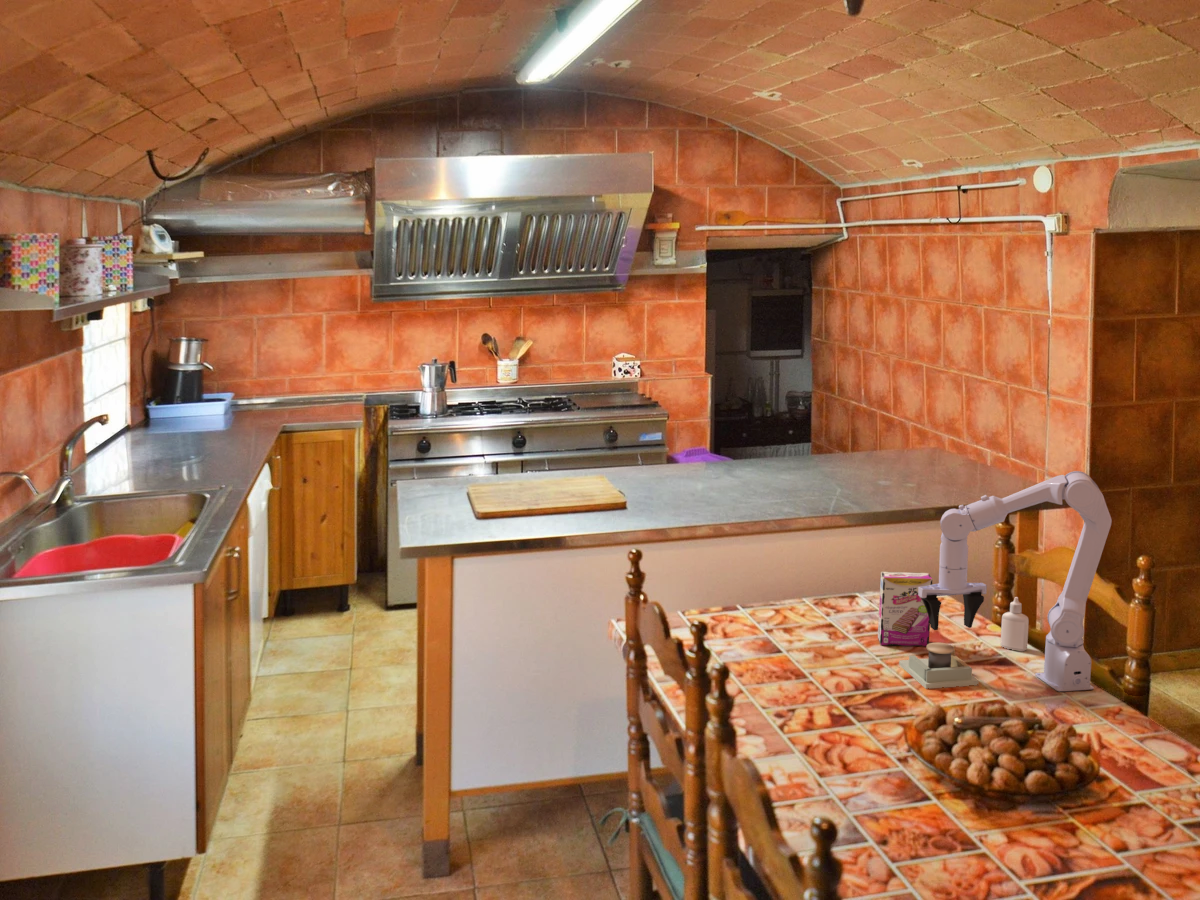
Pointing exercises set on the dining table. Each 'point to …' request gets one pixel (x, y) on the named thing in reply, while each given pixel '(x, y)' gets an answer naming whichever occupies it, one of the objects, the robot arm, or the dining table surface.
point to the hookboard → (939, 673)
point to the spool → (939, 655)
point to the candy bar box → (903, 609)
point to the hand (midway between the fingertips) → (951, 627)
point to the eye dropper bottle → (1014, 628)
